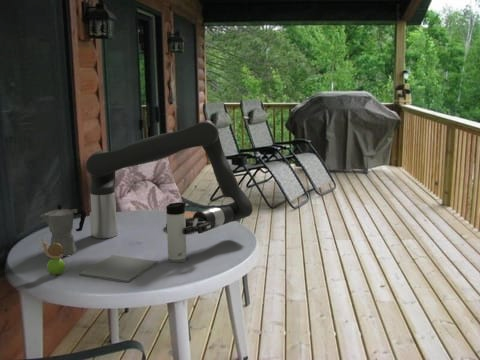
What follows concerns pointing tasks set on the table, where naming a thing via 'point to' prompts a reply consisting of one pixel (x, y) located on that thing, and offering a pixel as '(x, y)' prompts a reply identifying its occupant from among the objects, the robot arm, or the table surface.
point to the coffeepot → (64, 227)
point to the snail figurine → (54, 257)
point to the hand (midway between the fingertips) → (175, 229)
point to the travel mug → (176, 232)
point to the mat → (119, 268)
